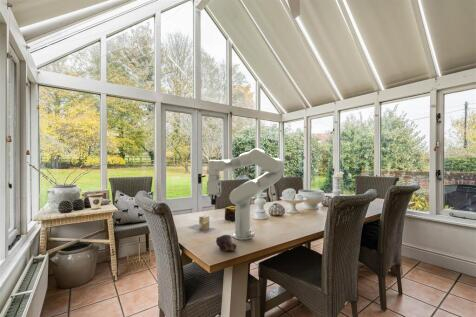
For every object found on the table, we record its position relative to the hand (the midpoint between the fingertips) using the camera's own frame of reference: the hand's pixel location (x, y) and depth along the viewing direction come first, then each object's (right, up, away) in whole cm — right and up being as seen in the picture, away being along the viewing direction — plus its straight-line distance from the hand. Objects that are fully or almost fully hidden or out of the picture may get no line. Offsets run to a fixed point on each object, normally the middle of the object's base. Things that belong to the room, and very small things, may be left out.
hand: (213, 204), depth 153 cm
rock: (+10, -19, -30) cm, 37 cm away
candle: (+13, -19, +33) cm, 40 cm away
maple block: (-7, -18, +5) cm, 20 cm away
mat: (-10, -19, +7) cm, 22 cm away
